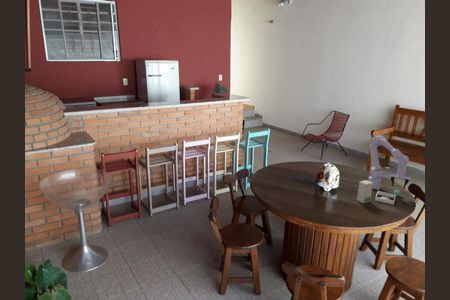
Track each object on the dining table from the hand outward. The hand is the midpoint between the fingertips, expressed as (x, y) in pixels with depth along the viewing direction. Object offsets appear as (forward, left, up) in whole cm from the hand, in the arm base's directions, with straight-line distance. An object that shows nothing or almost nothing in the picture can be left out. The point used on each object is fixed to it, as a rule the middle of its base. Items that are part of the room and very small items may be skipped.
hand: (398, 187), depth 246 cm
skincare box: (-21, -24, -8) cm, 33 cm away
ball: (0, 0, -7) cm, 7 cm away
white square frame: (-7, -12, -7) cm, 16 cm away
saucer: (-7, -12, -7) cm, 16 cm away
